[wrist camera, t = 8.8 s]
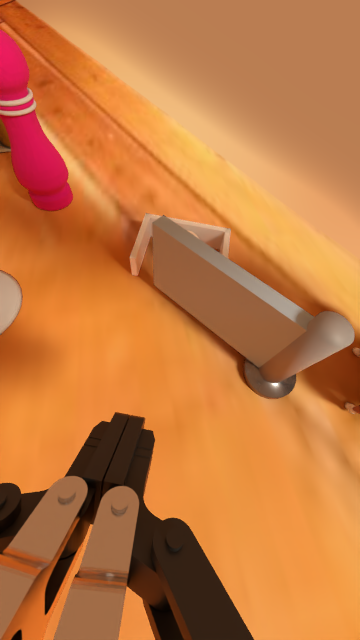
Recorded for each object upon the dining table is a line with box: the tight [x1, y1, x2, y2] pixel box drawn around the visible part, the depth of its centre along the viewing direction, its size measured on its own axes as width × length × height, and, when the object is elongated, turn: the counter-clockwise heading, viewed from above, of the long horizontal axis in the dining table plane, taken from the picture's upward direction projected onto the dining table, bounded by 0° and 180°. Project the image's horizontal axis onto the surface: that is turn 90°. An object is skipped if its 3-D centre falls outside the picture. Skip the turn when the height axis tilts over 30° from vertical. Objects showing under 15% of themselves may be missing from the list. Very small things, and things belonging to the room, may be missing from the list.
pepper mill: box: [0, 30, 73, 211], centre depth 31 cm, size 7×7×20 cm
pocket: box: [130, 213, 231, 276], centre depth 34 cm, size 13×9×4 cm
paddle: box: [152, 215, 355, 383], centre depth 25 cm, size 20×3×11 cm, turn 49°
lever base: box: [243, 358, 296, 399], centre depth 28 cm, size 6×6×1 cm
